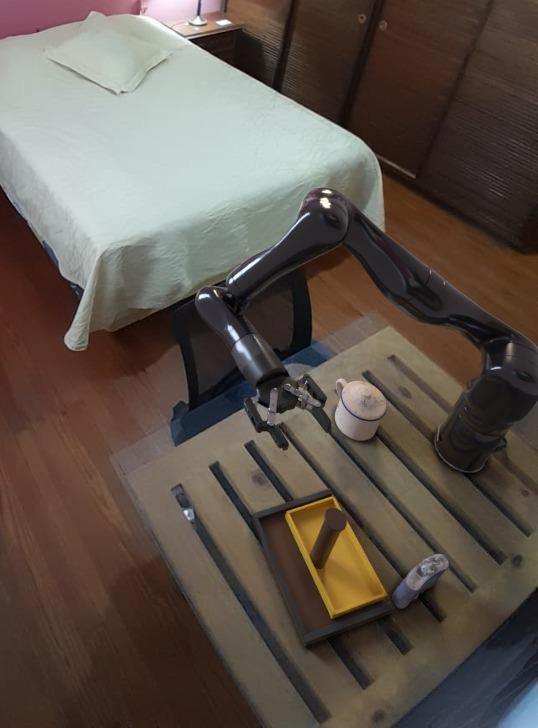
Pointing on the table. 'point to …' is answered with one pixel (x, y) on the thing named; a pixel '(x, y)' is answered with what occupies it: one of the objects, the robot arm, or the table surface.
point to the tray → (334, 557)
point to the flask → (420, 579)
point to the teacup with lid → (359, 409)
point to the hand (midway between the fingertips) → (308, 439)
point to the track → (305, 577)
